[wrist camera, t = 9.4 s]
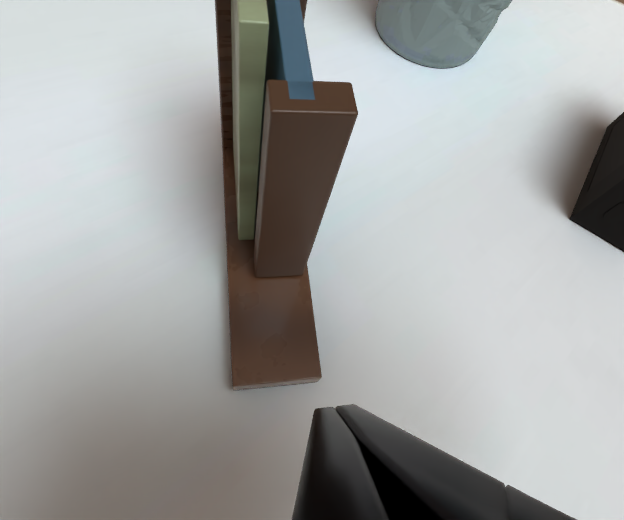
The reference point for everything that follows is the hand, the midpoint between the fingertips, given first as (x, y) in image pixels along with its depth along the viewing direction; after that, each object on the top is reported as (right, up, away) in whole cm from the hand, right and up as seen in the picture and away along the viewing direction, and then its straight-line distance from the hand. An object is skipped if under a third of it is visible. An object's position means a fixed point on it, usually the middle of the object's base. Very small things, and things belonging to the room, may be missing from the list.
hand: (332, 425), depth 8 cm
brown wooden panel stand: (-3, +4, +14) cm, 15 cm away
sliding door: (-2, +5, +14) cm, 15 cm away
